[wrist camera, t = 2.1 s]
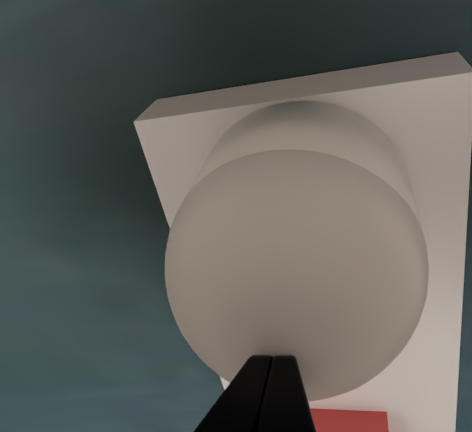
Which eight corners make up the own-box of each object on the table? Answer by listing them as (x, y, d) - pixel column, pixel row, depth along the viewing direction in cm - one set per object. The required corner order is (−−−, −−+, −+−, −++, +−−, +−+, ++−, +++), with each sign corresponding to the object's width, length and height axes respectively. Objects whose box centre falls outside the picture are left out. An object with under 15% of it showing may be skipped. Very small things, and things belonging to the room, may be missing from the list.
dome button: (404, 239, 16) (450, 472, 9) (237, 248, 17) (172, 451, 11) (400, 62, 13) (462, 219, 6) (197, 94, 14) (72, 244, 8)
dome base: (443, 442, 21) (477, 617, 16) (257, 431, 24) (233, 579, 18) (458, 51, 12) (546, 151, 7) (156, 99, 15) (51, 200, 9)
